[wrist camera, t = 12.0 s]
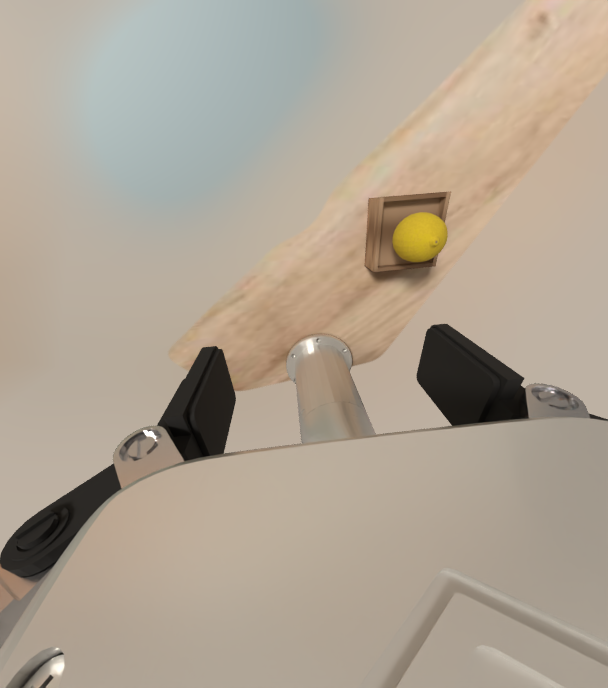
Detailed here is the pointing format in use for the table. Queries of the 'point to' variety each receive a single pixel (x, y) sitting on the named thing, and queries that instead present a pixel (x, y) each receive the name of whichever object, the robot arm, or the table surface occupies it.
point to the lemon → (419, 237)
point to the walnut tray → (386, 219)
